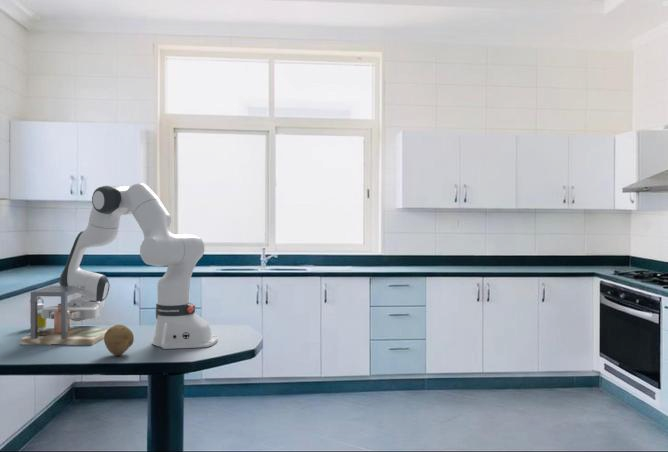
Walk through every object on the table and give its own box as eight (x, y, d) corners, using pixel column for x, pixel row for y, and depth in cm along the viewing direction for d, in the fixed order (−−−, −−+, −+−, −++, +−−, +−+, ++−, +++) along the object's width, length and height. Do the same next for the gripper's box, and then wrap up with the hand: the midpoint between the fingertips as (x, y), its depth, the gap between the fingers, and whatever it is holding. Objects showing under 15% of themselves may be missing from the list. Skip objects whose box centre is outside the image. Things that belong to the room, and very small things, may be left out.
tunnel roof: (85, 329, 195) (85, 285, 195) (65, 339, 180) (65, 292, 180) (53, 328, 195) (53, 285, 195) (30, 338, 180) (30, 291, 180)
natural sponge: (116, 350, 174) (116, 321, 174) (139, 352, 172) (139, 322, 172) (98, 357, 166) (98, 326, 165) (121, 360, 163) (121, 328, 163)
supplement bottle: (39, 330, 201) (39, 305, 201) (27, 329, 202) (27, 305, 202) (49, 327, 206) (49, 303, 206) (37, 326, 207) (37, 302, 207)
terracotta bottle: (72, 329, 191) (72, 302, 191) (65, 332, 186) (65, 305, 186) (58, 329, 191) (58, 302, 190) (51, 332, 186) (51, 305, 185)
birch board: (111, 333, 197) (111, 328, 197) (92, 344, 181) (92, 338, 181) (45, 333, 196) (45, 327, 196) (20, 344, 180) (20, 338, 180)
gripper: (51, 301, 201) (31, 307, 187) (104, 301, 201) (88, 308, 187) (51, 317, 201) (31, 325, 187) (104, 317, 201) (88, 325, 188)
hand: (60, 316), depth 187 cm, fingers closed on terracotta bottle, 5 cm apart
